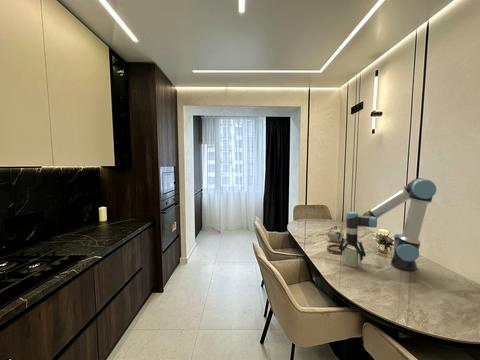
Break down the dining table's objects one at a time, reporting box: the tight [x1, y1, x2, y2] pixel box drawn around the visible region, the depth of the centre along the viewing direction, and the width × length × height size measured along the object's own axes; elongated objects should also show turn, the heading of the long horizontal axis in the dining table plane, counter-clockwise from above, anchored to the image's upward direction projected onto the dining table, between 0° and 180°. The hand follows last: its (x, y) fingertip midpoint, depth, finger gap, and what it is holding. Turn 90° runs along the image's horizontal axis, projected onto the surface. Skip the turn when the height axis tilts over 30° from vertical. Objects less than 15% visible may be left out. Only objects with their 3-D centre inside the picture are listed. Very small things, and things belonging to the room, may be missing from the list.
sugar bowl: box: [326, 225, 345, 243], centre depth 218 cm, size 20×15×15 cm
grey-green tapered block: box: [344, 246, 360, 268], centre depth 166 cm, size 9×9×12 cm
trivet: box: [326, 243, 345, 255], centre depth 193 cm, size 17×17×2 cm
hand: (351, 261), depth 166 cm, fingers open, 11 cm apart
